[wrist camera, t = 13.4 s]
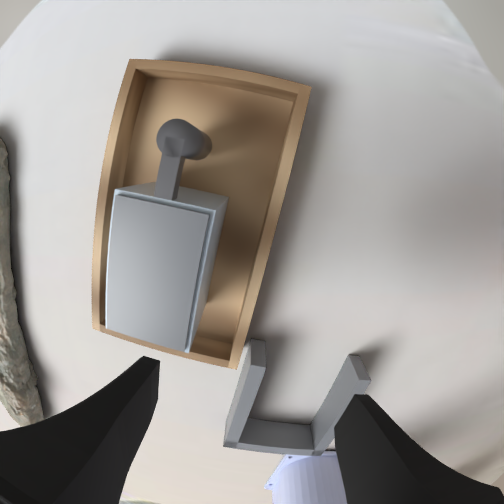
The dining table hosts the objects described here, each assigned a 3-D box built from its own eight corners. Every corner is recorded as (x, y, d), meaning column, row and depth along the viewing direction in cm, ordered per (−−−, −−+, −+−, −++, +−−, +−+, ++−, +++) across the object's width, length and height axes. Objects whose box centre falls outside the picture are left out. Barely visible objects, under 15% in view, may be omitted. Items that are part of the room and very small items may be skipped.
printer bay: (316, 432, 23) (320, 456, 20) (226, 421, 22) (223, 446, 19) (359, 356, 20) (371, 380, 17) (251, 338, 20) (250, 364, 17)
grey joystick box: (206, 303, 18) (187, 356, 13) (141, 286, 18) (103, 330, 13) (242, 141, 16) (234, 127, 10) (168, 127, 15) (127, 111, 10)
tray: (238, 348, 20) (236, 369, 18) (106, 312, 19) (92, 328, 17) (304, 97, 15) (311, 86, 13) (144, 70, 15) (129, 59, 12)
